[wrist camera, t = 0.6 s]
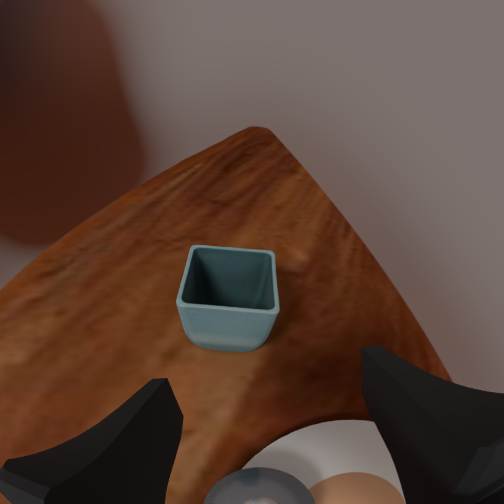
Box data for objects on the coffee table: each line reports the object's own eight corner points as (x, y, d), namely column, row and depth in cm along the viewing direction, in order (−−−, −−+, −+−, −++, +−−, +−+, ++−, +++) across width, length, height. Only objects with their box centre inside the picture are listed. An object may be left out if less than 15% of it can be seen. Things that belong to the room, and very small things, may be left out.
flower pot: (265, 307, 37) (274, 249, 32) (267, 368, 30) (280, 312, 25) (194, 302, 37) (191, 243, 31) (183, 362, 30) (174, 305, 24)
